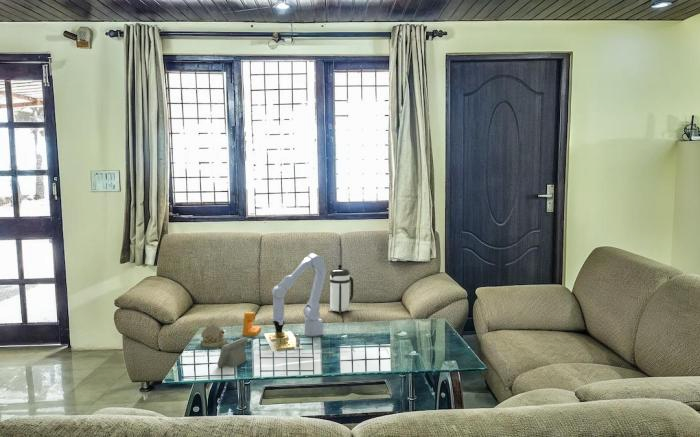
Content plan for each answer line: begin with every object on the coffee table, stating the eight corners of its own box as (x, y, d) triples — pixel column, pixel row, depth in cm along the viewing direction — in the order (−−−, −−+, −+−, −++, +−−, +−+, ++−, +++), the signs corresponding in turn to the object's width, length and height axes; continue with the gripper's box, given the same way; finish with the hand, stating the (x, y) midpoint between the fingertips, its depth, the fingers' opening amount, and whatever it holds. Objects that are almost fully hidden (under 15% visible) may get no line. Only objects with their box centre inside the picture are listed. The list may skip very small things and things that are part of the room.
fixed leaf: (289, 340, 267) (289, 334, 266) (294, 348, 255) (294, 341, 255) (272, 342, 264) (272, 335, 264) (276, 350, 252) (276, 343, 252)
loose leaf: (285, 334, 276) (285, 327, 275) (288, 339, 269) (288, 331, 268) (269, 336, 273) (269, 329, 273) (271, 341, 266) (271, 333, 265)
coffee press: (353, 315, 317) (353, 266, 314) (327, 314, 317) (327, 266, 314) (353, 307, 334) (353, 261, 331) (328, 307, 334) (328, 261, 331)
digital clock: (241, 356, 247) (241, 334, 246) (253, 361, 241) (253, 338, 240) (212, 365, 235) (212, 343, 234) (224, 371, 229) (224, 347, 228)
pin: (299, 344, 261) (299, 333, 260) (300, 346, 258) (300, 334, 258) (294, 345, 260) (294, 333, 259) (295, 346, 258) (296, 335, 257)
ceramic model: (195, 345, 261) (195, 326, 260) (208, 338, 272) (207, 320, 271) (220, 348, 257) (219, 329, 256) (231, 341, 267) (231, 322, 266)
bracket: (256, 337, 274) (255, 315, 273) (242, 336, 275) (242, 314, 274) (261, 331, 285) (261, 309, 284) (248, 330, 286) (248, 309, 284)
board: (291, 332, 282) (291, 331, 282) (302, 349, 256) (302, 348, 256) (263, 335, 278) (263, 333, 278) (272, 352, 251) (272, 351, 251)
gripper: (268, 306, 275) (268, 331, 276) (273, 313, 261) (273, 339, 262) (281, 305, 277) (282, 329, 278) (287, 312, 263) (287, 338, 265)
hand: (278, 334), depth 271 cm, fingers closed
